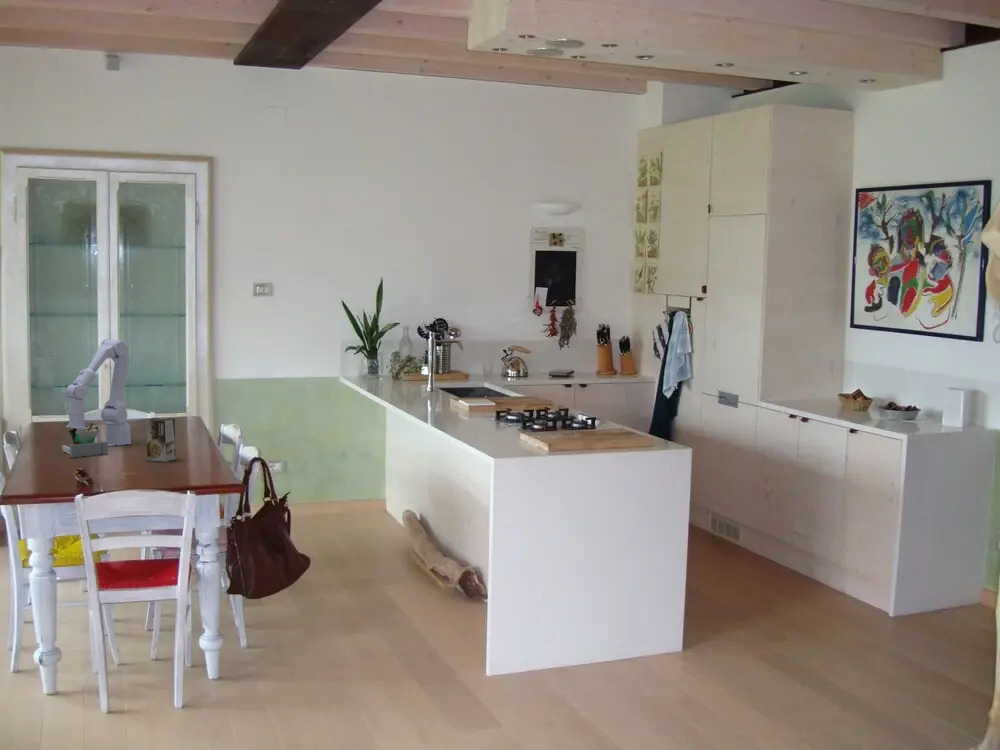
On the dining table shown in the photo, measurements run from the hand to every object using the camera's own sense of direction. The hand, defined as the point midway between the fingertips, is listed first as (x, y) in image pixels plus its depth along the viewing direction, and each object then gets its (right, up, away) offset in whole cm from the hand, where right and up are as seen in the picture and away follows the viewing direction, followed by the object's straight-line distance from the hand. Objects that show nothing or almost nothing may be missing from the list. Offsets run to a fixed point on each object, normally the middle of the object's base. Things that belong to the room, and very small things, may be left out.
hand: (77, 447), depth 421 cm
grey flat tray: (+4, -2, -5) cm, 7 cm away
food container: (+4, -1, -1) cm, 4 cm away
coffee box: (+39, -4, -15) cm, 42 cm away
